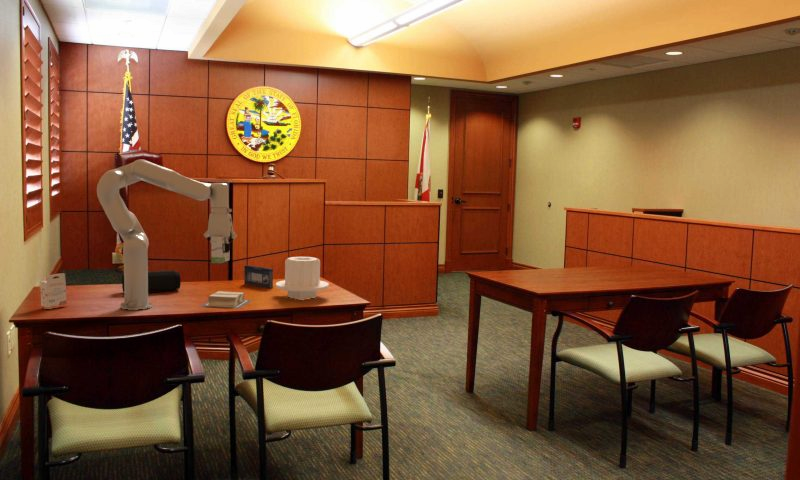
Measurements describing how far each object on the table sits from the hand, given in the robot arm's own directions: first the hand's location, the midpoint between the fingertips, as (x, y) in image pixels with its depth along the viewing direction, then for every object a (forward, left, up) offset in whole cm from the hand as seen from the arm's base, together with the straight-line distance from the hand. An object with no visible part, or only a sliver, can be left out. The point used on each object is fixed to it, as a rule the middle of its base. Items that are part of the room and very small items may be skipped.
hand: (220, 251), depth 299 cm
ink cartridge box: (-23, +64, -24) cm, 72 cm away
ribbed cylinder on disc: (+25, -31, -24) cm, 47 cm away
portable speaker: (+20, +42, -24) cm, 53 cm away
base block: (0, -3, -23) cm, 23 cm away
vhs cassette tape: (+48, -2, -24) cm, 54 cm away
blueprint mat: (0, -3, -24) cm, 24 cm away
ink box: (0, 0, -5) cm, 5 cm away
